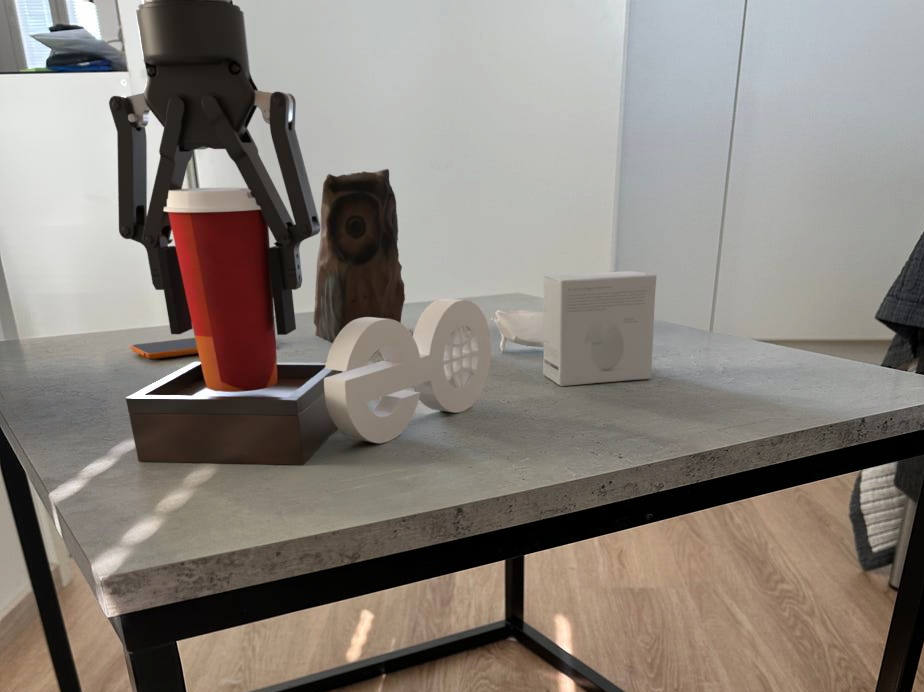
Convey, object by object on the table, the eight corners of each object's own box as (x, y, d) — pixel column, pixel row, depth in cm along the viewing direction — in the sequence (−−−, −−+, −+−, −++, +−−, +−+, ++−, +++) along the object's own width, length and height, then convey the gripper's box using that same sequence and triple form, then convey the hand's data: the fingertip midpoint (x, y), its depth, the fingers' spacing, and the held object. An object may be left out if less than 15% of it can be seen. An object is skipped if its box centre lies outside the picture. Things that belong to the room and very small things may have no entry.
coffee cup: (308, 376, 81) (288, 185, 74) (258, 398, 74) (231, 190, 67) (225, 371, 83) (199, 186, 76) (170, 391, 77) (135, 191, 69)
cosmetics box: (629, 367, 104) (635, 268, 99) (652, 380, 99) (659, 275, 94) (540, 374, 102) (542, 272, 97) (559, 387, 96) (561, 280, 91)
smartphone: (276, 344, 120) (276, 337, 119) (148, 361, 111) (147, 354, 111) (253, 336, 125) (252, 329, 125) (129, 351, 117) (128, 344, 116)
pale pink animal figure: (504, 368, 111) (585, 345, 110) (489, 310, 109) (572, 286, 108) (503, 368, 116) (581, 345, 115) (489, 312, 114) (567, 289, 113)
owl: (405, 328, 129) (396, 168, 120) (420, 344, 118) (412, 170, 109) (314, 333, 127) (298, 170, 117) (321, 350, 116) (304, 172, 106)
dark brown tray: (137, 461, 76) (125, 398, 73) (203, 417, 88) (194, 361, 85) (303, 465, 74) (296, 400, 72) (346, 419, 86) (341, 362, 84)
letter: (473, 397, 93) (471, 291, 88) (491, 399, 92) (490, 293, 87) (330, 452, 77) (318, 327, 72) (350, 456, 76) (340, 329, 71)
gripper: (346, 4, 68) (368, 324, 79) (75, 14, 70) (133, 323, 81) (318, -11, 61) (347, 340, 72) (21, 0, 64) (92, 339, 75)
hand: (234, 331), depth 77 cm, fingers closed on coffee cup, 8 cm apart
